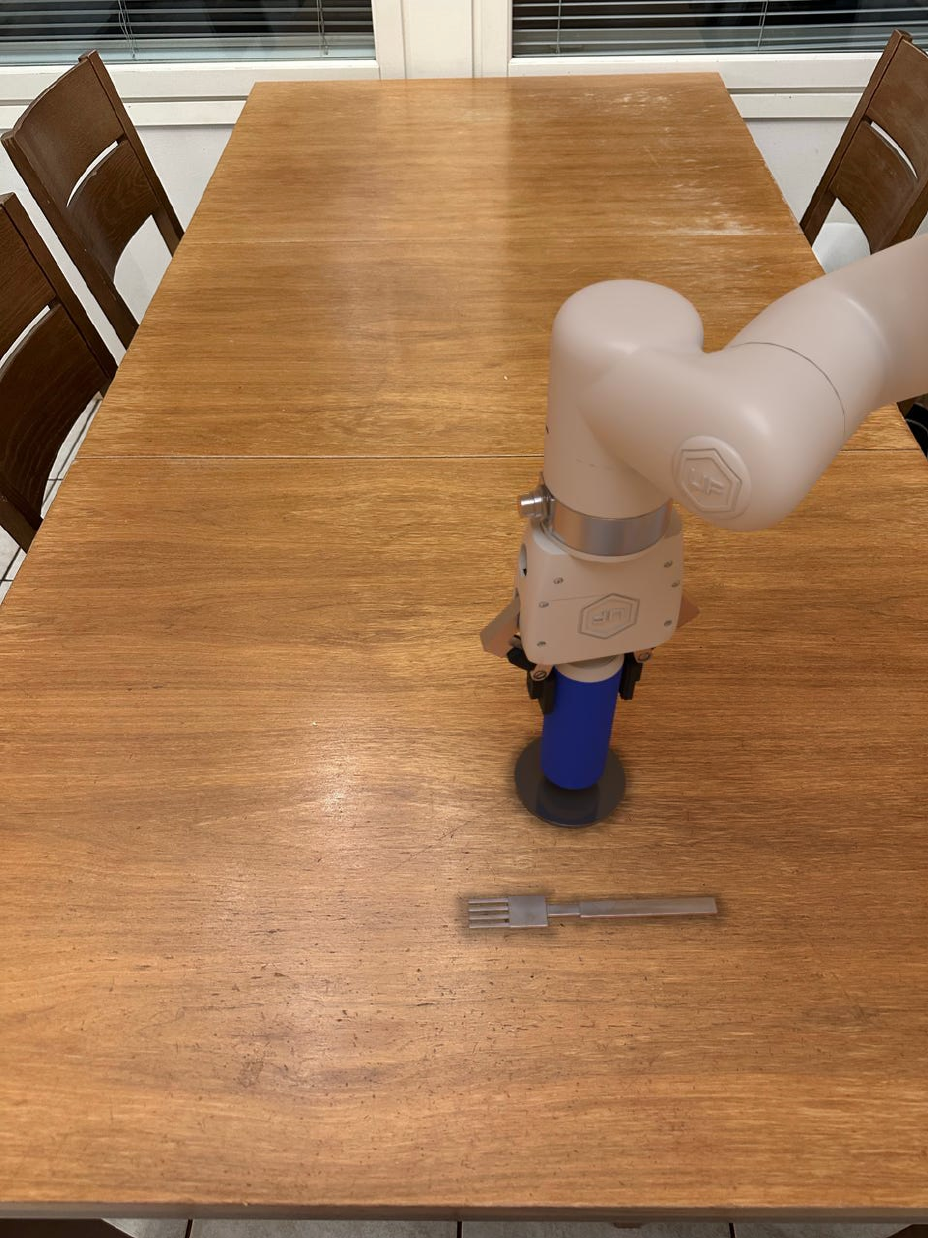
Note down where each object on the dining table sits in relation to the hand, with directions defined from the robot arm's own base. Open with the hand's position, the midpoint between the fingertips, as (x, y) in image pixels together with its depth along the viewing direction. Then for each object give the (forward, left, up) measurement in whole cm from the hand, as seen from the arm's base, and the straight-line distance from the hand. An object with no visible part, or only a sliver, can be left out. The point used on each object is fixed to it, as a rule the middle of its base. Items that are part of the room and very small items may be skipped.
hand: (581, 690), depth 68 cm
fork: (-6, +10, -12) cm, 16 cm away
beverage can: (0, 0, -10) cm, 10 cm away
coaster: (0, 0, -12) cm, 12 cm away
